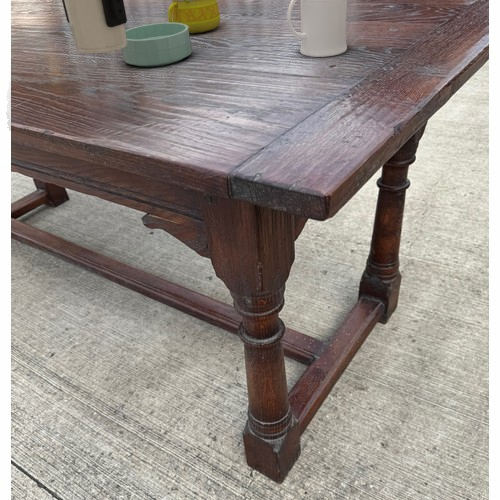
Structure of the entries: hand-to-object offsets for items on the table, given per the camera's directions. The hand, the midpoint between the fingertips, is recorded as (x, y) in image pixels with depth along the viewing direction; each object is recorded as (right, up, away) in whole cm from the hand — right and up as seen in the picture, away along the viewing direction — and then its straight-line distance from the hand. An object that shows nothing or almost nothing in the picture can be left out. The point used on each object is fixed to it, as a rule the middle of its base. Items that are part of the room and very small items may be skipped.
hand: (97, 22), depth 69 cm
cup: (0, -3, +2) cm, 3 cm away
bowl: (+3, +6, +30) cm, 31 cm away
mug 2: (+33, +5, +24) cm, 41 cm away
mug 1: (+8, +19, +46) cm, 50 cm away
